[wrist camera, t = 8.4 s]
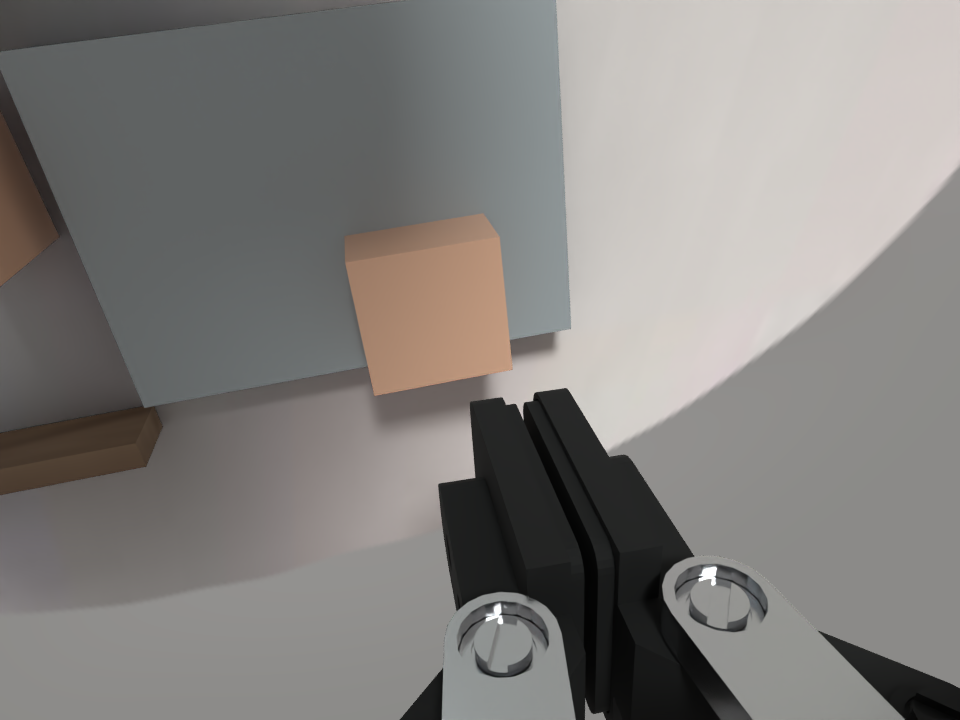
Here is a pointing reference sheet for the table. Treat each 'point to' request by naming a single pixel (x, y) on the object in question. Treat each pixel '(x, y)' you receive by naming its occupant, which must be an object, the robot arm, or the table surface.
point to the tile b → (430, 302)
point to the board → (294, 174)
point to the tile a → (19, 211)
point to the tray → (77, 449)
